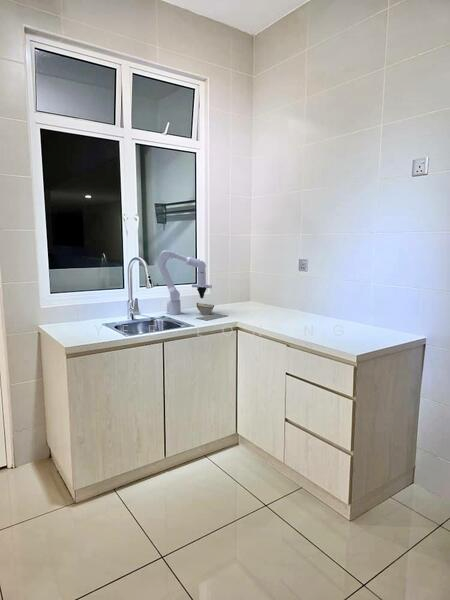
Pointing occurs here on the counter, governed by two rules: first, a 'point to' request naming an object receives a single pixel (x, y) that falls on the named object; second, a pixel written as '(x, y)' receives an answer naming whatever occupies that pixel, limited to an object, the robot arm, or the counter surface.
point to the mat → (212, 317)
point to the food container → (205, 308)
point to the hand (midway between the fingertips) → (201, 298)
